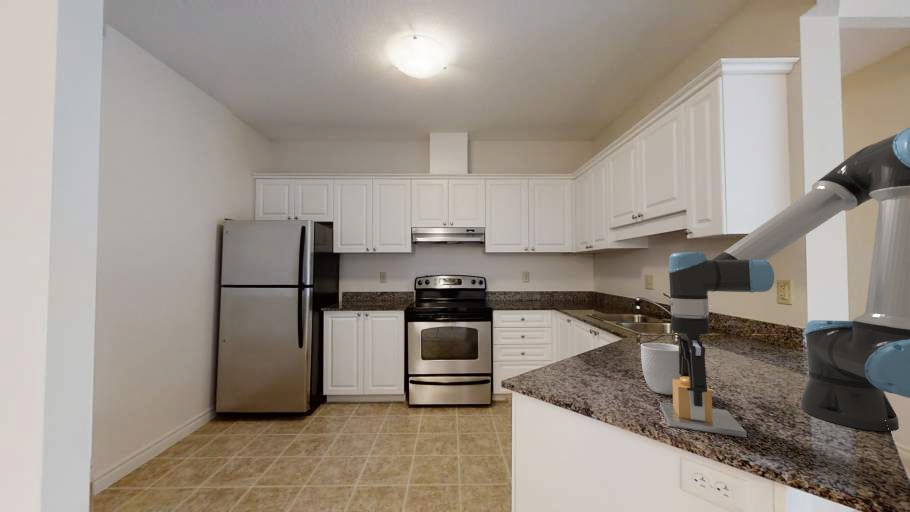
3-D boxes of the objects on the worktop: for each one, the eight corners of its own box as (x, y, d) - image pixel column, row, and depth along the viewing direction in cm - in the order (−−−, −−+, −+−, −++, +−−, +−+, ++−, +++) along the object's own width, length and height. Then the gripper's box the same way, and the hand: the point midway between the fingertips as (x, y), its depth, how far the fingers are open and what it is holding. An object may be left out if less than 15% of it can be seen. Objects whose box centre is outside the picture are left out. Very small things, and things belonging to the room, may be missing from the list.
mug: (706, 394, 95) (704, 348, 96) (698, 405, 87) (696, 355, 88) (648, 382, 106) (646, 341, 106) (637, 391, 98) (635, 346, 99)
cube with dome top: (703, 411, 81) (702, 377, 81) (712, 422, 75) (711, 385, 75) (673, 406, 83) (672, 373, 84) (679, 417, 77) (678, 381, 78)
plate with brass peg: (726, 414, 81) (724, 387, 82) (746, 437, 70) (745, 405, 71) (660, 406, 87) (659, 380, 87) (669, 426, 76) (668, 396, 76)
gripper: (663, 310, 91) (666, 396, 89) (680, 320, 73) (684, 428, 72) (696, 312, 88) (700, 400, 87) (722, 322, 70) (727, 434, 69)
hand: (693, 413), depth 79 cm, fingers closed on cube with dome top, 6 cm apart
